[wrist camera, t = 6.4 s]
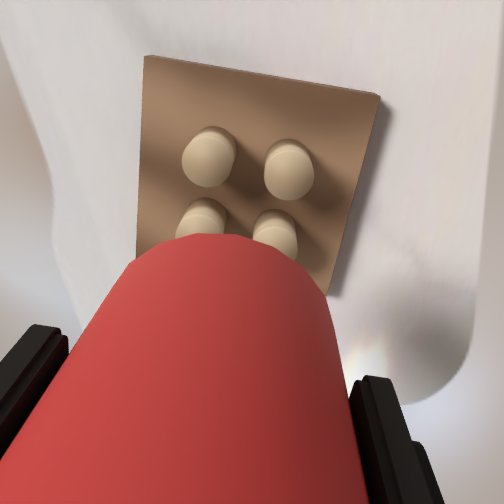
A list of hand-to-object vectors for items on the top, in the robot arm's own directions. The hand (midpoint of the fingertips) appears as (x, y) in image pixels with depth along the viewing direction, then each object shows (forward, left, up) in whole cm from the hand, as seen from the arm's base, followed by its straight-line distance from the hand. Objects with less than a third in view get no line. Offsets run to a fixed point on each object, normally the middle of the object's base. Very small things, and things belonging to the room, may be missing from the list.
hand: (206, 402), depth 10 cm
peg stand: (0, 0, -17) cm, 17 cm away
